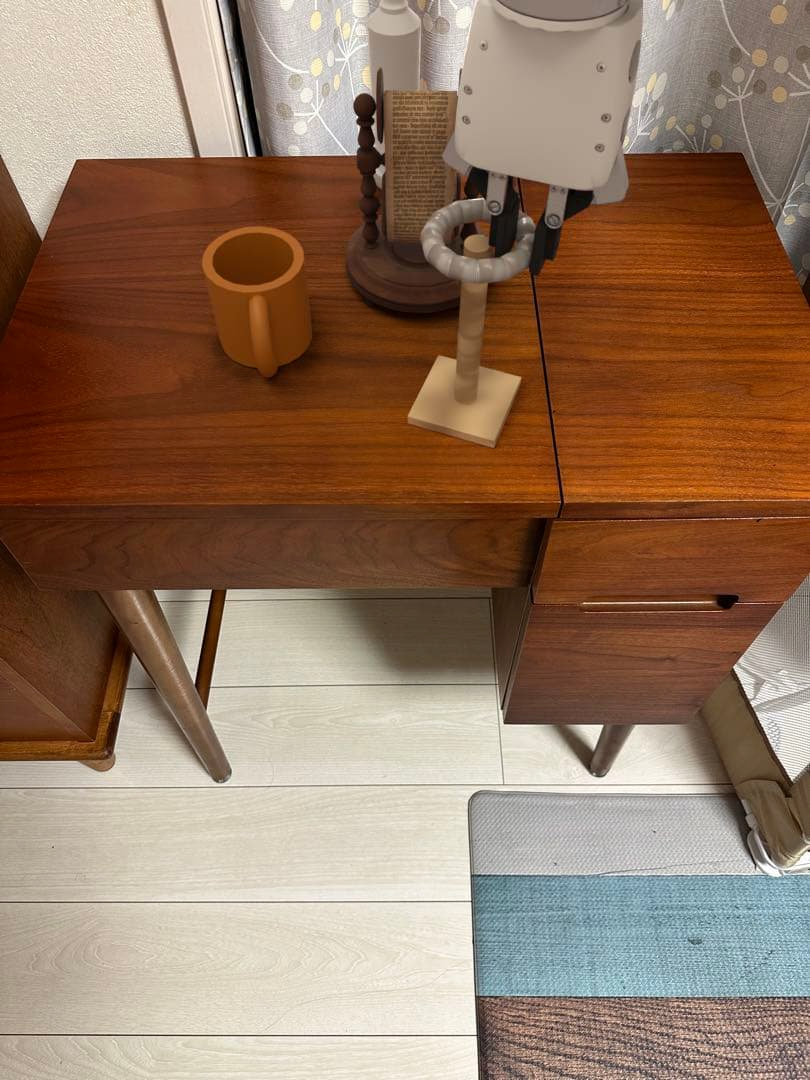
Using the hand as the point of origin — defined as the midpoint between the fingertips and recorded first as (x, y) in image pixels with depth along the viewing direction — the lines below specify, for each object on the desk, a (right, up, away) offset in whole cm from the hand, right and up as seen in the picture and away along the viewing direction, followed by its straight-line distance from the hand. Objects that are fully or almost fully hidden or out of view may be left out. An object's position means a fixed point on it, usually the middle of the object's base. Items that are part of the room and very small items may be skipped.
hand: (521, 257), depth 58 cm
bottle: (-9, +20, +33) cm, 40 cm away
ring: (-3, +1, 0) cm, 3 cm away
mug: (-22, -2, +19) cm, 29 cm away
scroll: (-7, +7, +24) cm, 26 cm away
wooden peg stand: (-3, -8, +15) cm, 17 cm away
